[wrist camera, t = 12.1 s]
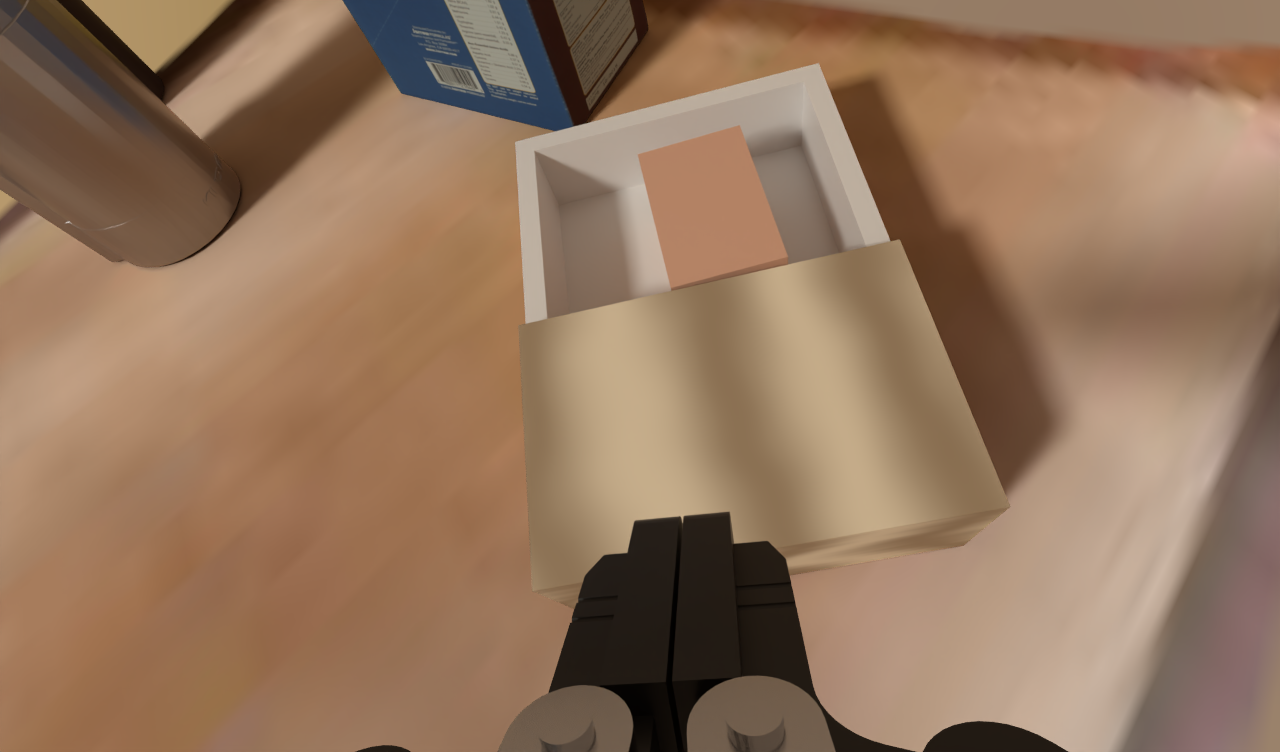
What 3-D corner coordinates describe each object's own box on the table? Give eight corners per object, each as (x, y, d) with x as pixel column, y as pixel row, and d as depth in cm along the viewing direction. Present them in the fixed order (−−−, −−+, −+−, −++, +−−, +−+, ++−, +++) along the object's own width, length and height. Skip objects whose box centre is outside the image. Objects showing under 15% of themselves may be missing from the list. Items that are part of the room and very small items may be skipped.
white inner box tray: (560, 381, 33) (526, 333, 28) (545, 205, 38) (515, 141, 34) (878, 313, 31) (894, 250, 27) (814, 139, 37) (818, 63, 32)
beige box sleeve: (579, 611, 28) (532, 591, 22) (560, 385, 33) (518, 325, 27) (963, 545, 26) (1010, 506, 20) (879, 317, 31) (899, 239, 26)
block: (670, 287, 27) (637, 154, 31) (686, 345, 31) (655, 222, 35) (788, 256, 26) (739, 125, 30) (787, 319, 31) (745, 197, 35)
